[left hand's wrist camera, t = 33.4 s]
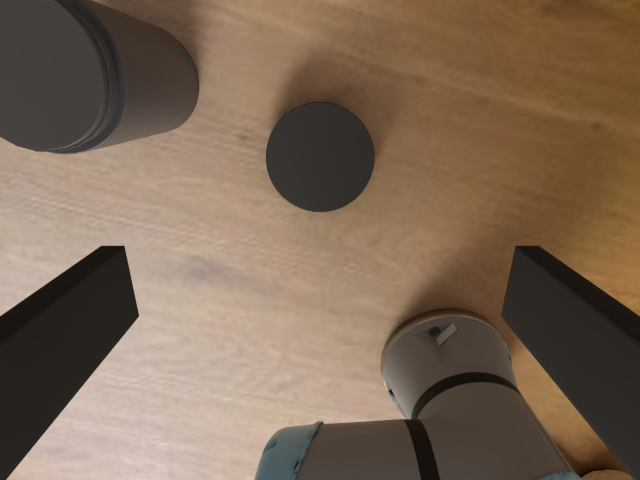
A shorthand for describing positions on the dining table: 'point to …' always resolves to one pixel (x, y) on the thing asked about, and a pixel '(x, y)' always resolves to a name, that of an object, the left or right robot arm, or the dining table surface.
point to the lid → (320, 157)
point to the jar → (88, 76)
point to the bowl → (607, 475)
